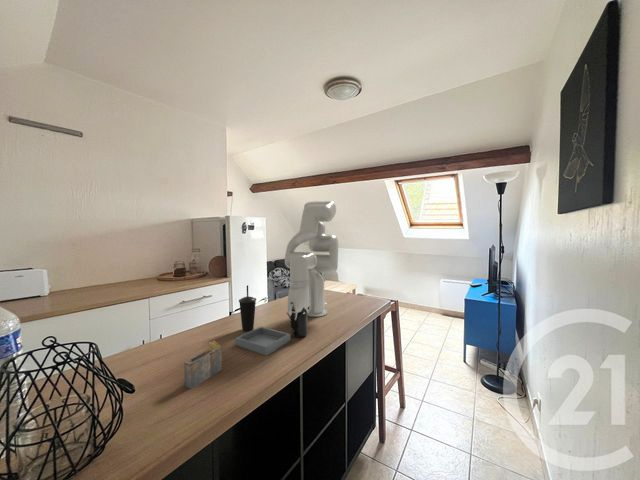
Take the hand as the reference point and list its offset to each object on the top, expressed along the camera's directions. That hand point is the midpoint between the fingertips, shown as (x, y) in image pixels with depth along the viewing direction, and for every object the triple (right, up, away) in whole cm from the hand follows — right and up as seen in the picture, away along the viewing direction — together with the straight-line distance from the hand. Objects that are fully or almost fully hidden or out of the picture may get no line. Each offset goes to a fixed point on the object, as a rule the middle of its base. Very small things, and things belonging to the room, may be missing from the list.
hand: (299, 325), depth 110 cm
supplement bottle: (0, -4, 0) cm, 4 cm away
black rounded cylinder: (-24, -4, +7) cm, 25 cm away
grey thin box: (-27, -7, -31) cm, 41 cm away
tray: (-14, -5, -7) cm, 16 cm away
